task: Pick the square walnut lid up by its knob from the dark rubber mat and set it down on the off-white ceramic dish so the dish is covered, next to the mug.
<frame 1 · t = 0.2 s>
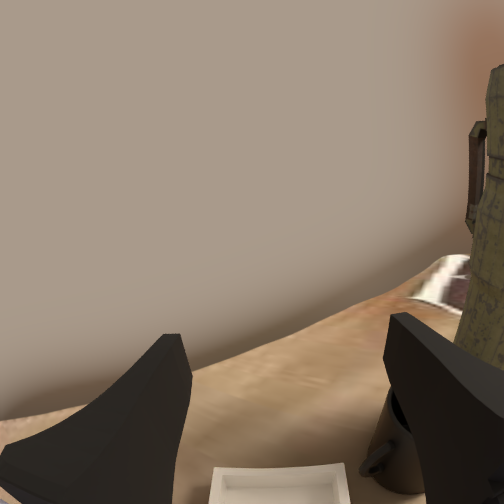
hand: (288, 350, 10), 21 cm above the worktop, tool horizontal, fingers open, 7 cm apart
mug: (400, 464, 22), on the worktop
thermos: (457, 411, 26), on the worktop
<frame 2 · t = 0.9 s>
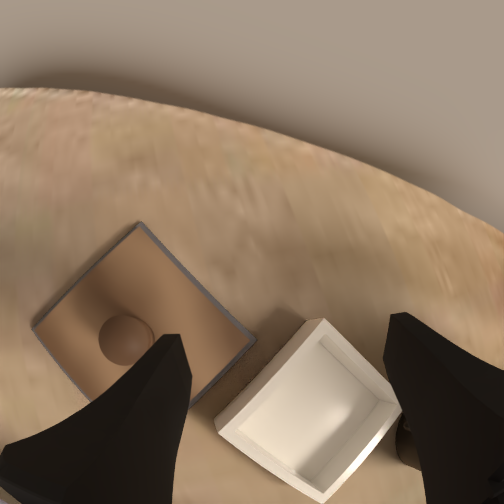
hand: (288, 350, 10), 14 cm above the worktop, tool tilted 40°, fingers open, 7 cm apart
mug: (419, 424, 25), on the worktop
lid: (136, 338, 21), resting on mat
mat: (137, 338, 22), on the worktop
dish: (308, 411, 23), on the worktop
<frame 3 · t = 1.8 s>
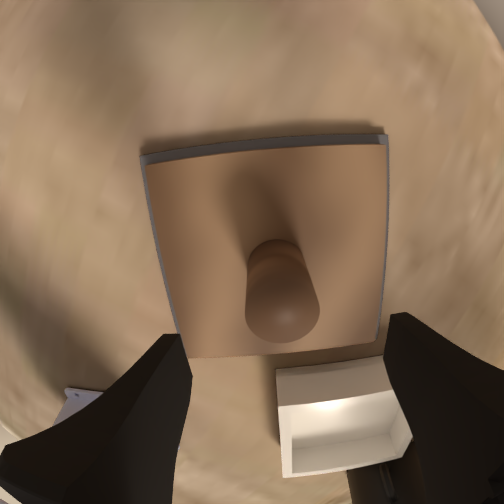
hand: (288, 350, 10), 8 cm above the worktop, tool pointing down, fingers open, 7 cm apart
mug: (383, 457, 27), on the worktop
lid: (275, 260, 17), resting on mat
mat: (275, 257, 17), on the worktop
dish: (345, 407, 23), on the worktop
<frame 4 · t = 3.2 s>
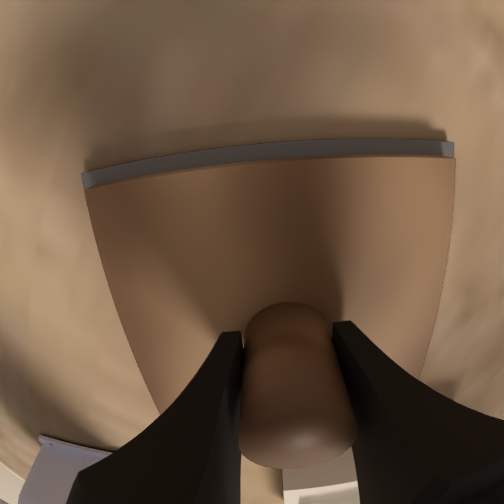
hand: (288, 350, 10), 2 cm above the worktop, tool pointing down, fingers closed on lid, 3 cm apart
lid: (285, 324, 11), resting on mat, touching gripper
mat: (284, 318, 12), on the worktop
dish: (360, 466, 17), on the worktop
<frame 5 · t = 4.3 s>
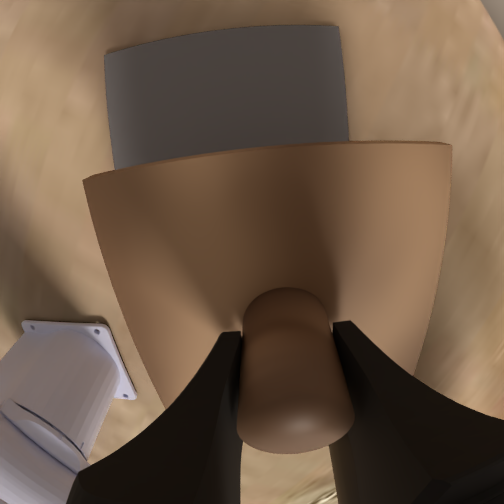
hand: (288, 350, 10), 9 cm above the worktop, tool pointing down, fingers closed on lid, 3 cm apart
mug: (370, 427, 26), on the worktop
lid: (283, 309, 12), point 7 cm above the worktop, touching gripper
mat: (226, 144, 16), on the worktop
when the fingers open (6 cm above the worktop, at t = 5.6 s): lid stays where it is, resting on dish.
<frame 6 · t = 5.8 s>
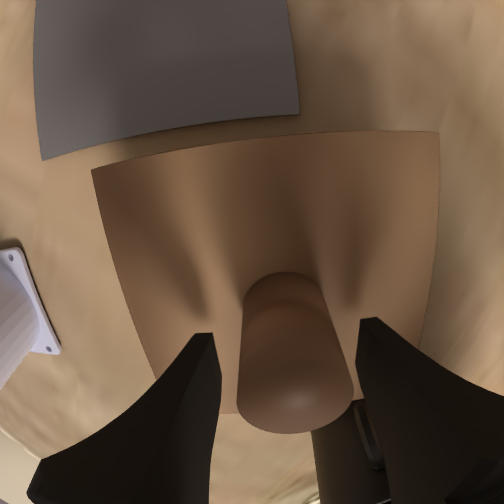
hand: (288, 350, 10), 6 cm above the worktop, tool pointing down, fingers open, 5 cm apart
mug: (366, 406, 20), on the worktop
lid: (282, 297, 12), point 3 cm above the worktop, touching dish
mat: (143, 8, 10), on the worktop
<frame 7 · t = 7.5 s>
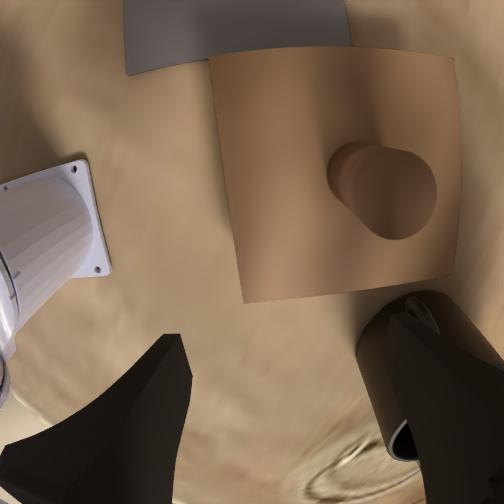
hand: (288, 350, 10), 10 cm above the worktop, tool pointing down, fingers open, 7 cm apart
mug: (405, 326, 22), on the worktop
lid: (353, 171, 14), point 3 cm above the worktop, touching dish
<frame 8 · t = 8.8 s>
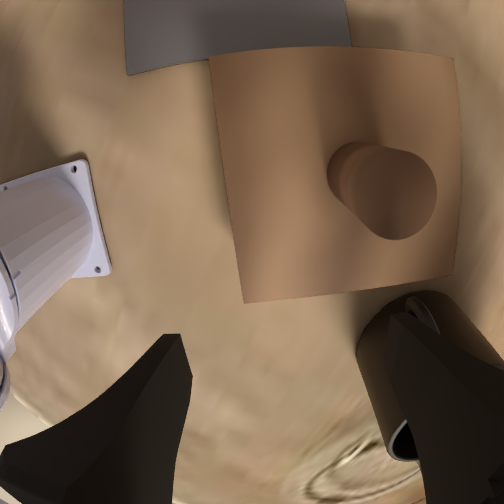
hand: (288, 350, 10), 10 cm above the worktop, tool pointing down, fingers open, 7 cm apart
mug: (405, 326, 22), on the worktop
lid: (353, 171, 14), point 3 cm above the worktop, touching dish
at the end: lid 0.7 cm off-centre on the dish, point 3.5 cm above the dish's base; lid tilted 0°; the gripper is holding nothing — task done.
